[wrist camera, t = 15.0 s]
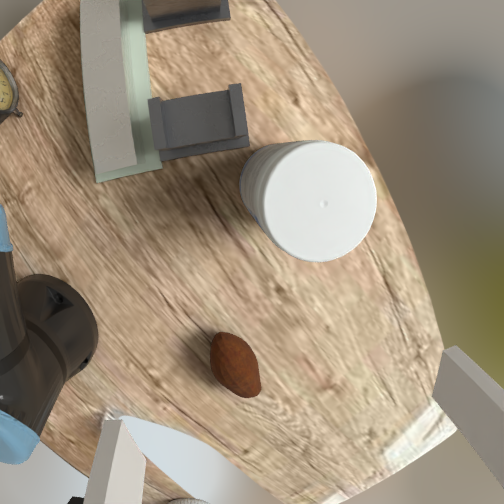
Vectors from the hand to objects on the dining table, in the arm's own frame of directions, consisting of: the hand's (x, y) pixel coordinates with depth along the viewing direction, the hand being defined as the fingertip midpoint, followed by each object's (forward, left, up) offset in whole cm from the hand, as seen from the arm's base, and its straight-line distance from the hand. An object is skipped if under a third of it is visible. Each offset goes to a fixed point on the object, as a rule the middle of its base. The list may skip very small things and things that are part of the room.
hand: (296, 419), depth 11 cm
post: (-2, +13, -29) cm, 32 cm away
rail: (-11, +21, -28) cm, 37 cm away
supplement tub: (+6, +5, -29) cm, 30 cm away
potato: (-3, -17, -29) cm, 34 cm away
